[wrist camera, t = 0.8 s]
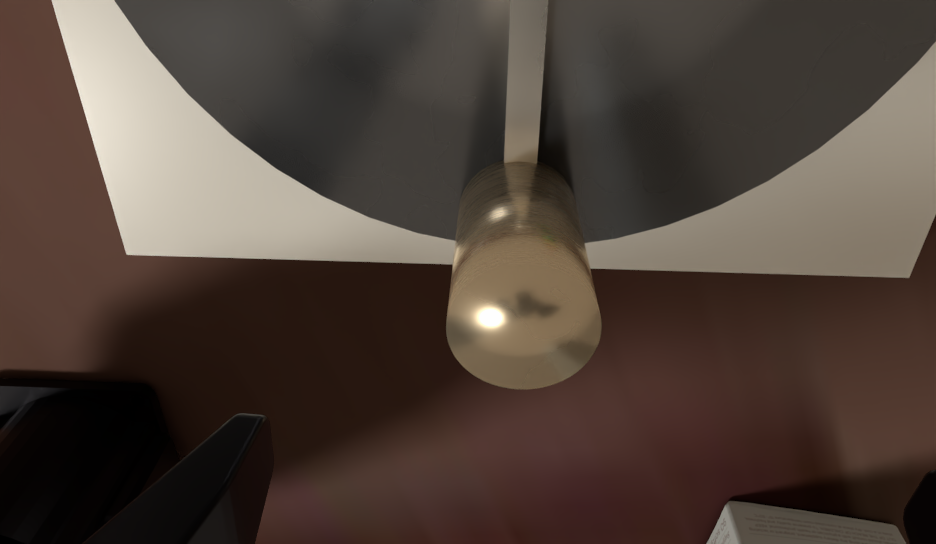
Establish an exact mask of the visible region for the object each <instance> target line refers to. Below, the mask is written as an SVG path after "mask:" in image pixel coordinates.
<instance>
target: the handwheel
mask: <svg viewBox="0 0 936 544" xmlns="http://www.w3.org/2000/svg"><path fill="white" fill-rule="evenodd" d="M114 1H115V2H116V4H117V5H118V7H119V8H120V9H121V11H122V12H123V14H124V15H125V17H126V18H127V19H128V21H129V22H130V24H131V25H132V26H133V28H134V29H135V31H136V32H137V34H138V35H139V36H140V38H141V39H142V41H143V42H144V44H145V45H146V46H147V48H148V49H149V50H150V51H151V52H152V53H153V55H154V56H155V57H156V58H157V59H158V60H159V61H160V63H161V64H162V65H163V66H164V67H165V68H166V70H167V71H168V72H169V73H170V74H171V75H172V76H173V78H174V79H175V80H176V81H177V82H178V83H179V85H180V86H181V87H182V88H183V89H184V90H185V92H186V93H187V94H188V95H189V96H190V97H191V98H192V99H194V100H195V101H196V102H197V103H198V104H199V105H200V106H201V107H202V108H203V109H204V110H205V111H206V112H207V113H208V114H210V115H211V116H212V117H213V118H214V119H215V120H216V121H217V122H218V123H219V124H220V125H221V126H222V127H223V128H224V129H225V130H227V131H228V132H229V133H230V134H231V135H232V136H233V137H235V138H236V139H237V140H239V141H240V142H241V143H243V144H244V145H245V146H247V147H248V148H249V149H251V150H252V151H253V152H255V153H256V154H257V155H259V156H260V157H261V158H263V159H264V160H265V161H267V162H268V163H269V164H270V165H272V166H273V167H274V168H276V169H277V170H279V171H281V172H282V173H284V174H286V175H288V176H289V177H291V178H293V179H294V180H296V181H298V182H299V183H301V184H303V185H304V186H306V187H308V188H309V189H311V190H313V191H314V192H316V193H318V194H319V195H321V196H323V197H325V198H327V199H330V200H332V201H334V202H336V203H338V204H341V205H343V206H345V207H347V208H349V209H352V210H354V211H356V212H358V213H360V214H363V215H365V216H367V217H369V218H372V219H375V220H378V221H381V222H385V223H388V224H391V225H394V226H397V227H400V228H403V229H406V230H409V231H412V232H415V233H419V234H424V235H429V236H434V237H439V238H444V239H449V240H454V241H455V248H454V257H453V266H452V275H451V284H450V293H449V302H448V312H447V321H446V334H447V340H448V343H449V346H450V348H451V351H452V353H453V354H454V356H455V358H456V359H457V360H458V361H459V363H460V364H461V365H462V366H463V367H464V368H465V369H466V370H467V371H469V372H470V373H471V374H473V375H474V376H476V377H477V378H479V379H481V380H483V381H485V382H488V383H490V384H493V385H496V386H499V387H504V388H509V389H535V388H541V387H546V386H550V385H553V384H556V383H558V382H560V381H563V380H565V379H567V378H568V377H570V376H572V375H573V374H575V373H576V372H577V371H579V370H580V369H581V368H582V367H583V366H584V365H585V364H586V363H587V362H588V361H589V359H590V358H591V357H592V355H593V354H594V352H595V350H596V348H597V346H598V343H599V340H600V336H601V327H602V324H601V315H600V311H599V306H598V302H597V297H596V293H595V288H594V283H593V279H592V274H591V270H590V265H589V261H588V256H587V251H586V247H585V243H589V242H596V241H603V240H610V239H617V238H620V237H624V236H628V235H632V234H636V233H640V232H644V231H648V230H652V229H656V228H659V227H663V226H667V225H670V224H672V223H675V222H678V221H680V220H683V219H686V218H688V217H691V216H694V215H696V214H699V213H702V212H704V211H707V210H710V209H712V208H715V207H717V206H719V205H721V204H723V203H725V202H727V201H729V200H731V199H733V198H735V197H737V196H739V195H741V194H743V193H745V192H747V191H749V190H751V189H753V188H755V187H757V186H759V185H761V184H763V183H765V182H767V181H769V180H771V179H772V178H774V177H775V176H777V175H778V174H780V173H782V172H783V171H785V170H786V169H788V168H789V167H791V166H793V165H794V164H796V163H797V162H799V161H800V160H802V159H804V158H805V157H807V156H808V155H810V154H811V153H813V152H815V151H816V150H818V149H819V148H820V147H822V146H823V145H824V144H825V143H827V142H828V141H829V140H831V139H832V138H833V137H834V136H836V135H837V134H838V133H839V132H841V131H842V130H843V129H845V128H846V127H847V126H848V125H850V124H851V123H852V122H853V121H855V120H856V119H857V118H858V117H860V116H861V115H862V114H864V113H865V112H866V111H867V110H869V109H870V108H871V107H872V106H873V105H874V104H875V103H876V102H877V101H878V100H879V99H880V98H881V97H882V96H883V95H884V94H885V93H886V92H887V91H888V90H889V89H891V88H892V87H893V86H894V85H895V84H896V83H897V82H898V81H899V80H900V79H901V78H902V77H903V76H904V75H905V74H906V73H907V72H908V71H909V70H910V69H911V68H912V67H913V66H915V65H916V64H917V63H918V61H919V60H920V59H921V58H922V57H923V56H924V55H925V53H926V52H927V51H928V50H929V49H930V48H931V46H932V45H933V44H934V43H935V42H936V0H114Z"/></svg>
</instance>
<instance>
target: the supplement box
mask: <svg viewBox="0 0 936 544" xmlns="http://www.w3.org/2000/svg"><path fill="white" fill-rule="evenodd" d="M707 544H906V542H905V541H904V539H903V537H902V535H901V534H900V532H899V530H898V528H897V527H896V526H895V525H892V524H887V523H881V522H874V521H868V520H862V519H855V518H848V517H841V516H835V515H829V514H822V513H815V512H810V511H804V510H796V509H789V508H782V507H776V506H768V505H761V504H755V503H748V502H738V501H728V502H727V504H726V505H725V507H724V509H723V511H722V513H721V516H720V518H719V520H718V522H717V524H716V526H715V528H714V530H713V532H712V534H711V536H710V538H709V540H708V542H707Z"/></svg>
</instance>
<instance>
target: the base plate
mask: <svg viewBox="0 0 936 544" xmlns="http://www.w3.org/2000/svg"><path fill="white" fill-rule="evenodd" d="M52 3H53V7H54V10H55V14H56V17H57V20H58V24H59V27H60V30H61V34H62V37H63V41H64V44H65V47H66V51H67V54H68V58H69V61H70V64H71V68H72V71H73V75H74V78H75V81H76V85H77V88H78V91H79V95H80V98H81V102H82V105H83V108H84V112H85V115H86V119H87V122H88V125H89V129H90V132H91V136H92V139H93V142H94V146H95V149H96V153H97V156H98V159H99V163H100V166H101V169H102V173H103V176H104V180H105V183H106V186H107V190H108V193H109V197H110V200H111V203H112V207H113V210H114V214H115V217H116V220H117V224H118V227H119V231H120V234H121V237H122V241H123V244H124V247H125V251H126V254H127V255H150V256H184V257H218V258H252V259H286V260H319V261H353V262H387V263H421V264H453V257H454V248H455V241H454V240H449V239H444V238H439V237H434V236H429V235H424V234H419V233H415V232H412V231H409V230H406V229H403V228H400V227H397V226H394V225H391V224H388V223H385V222H381V221H378V220H375V219H372V218H369V217H367V216H365V215H363V214H360V213H358V212H356V211H354V210H352V209H349V208H347V207H345V206H343V205H341V204H338V203H336V202H334V201H332V200H330V199H327V198H325V197H323V196H321V195H319V194H318V193H316V192H314V191H313V190H311V189H309V188H308V187H306V186H304V185H303V184H301V183H299V182H298V181H296V180H294V179H293V178H291V177H289V176H288V175H286V174H284V173H282V172H281V171H279V170H277V169H276V168H274V167H273V166H272V165H270V164H269V163H268V162H267V161H265V160H264V159H263V158H261V157H260V156H259V155H257V154H256V153H255V152H253V151H252V150H251V149H249V148H248V147H247V146H245V145H244V144H243V143H241V142H240V141H239V140H237V139H236V138H235V137H233V136H232V135H231V134H230V133H229V132H228V131H227V130H225V129H224V128H223V127H222V126H221V125H220V124H219V123H218V122H217V121H216V120H215V119H214V118H213V117H212V116H211V115H210V114H208V113H207V112H206V111H205V110H204V109H203V108H202V107H201V106H200V105H199V104H198V103H197V102H196V101H195V100H194V99H192V98H191V97H190V96H189V95H188V94H187V93H186V92H185V90H184V89H183V88H182V87H181V86H180V85H179V83H178V82H177V81H176V80H175V79H174V78H173V76H172V75H171V74H170V73H169V72H168V71H167V70H166V68H165V67H164V66H163V65H162V64H161V63H160V61H159V60H158V59H157V58H156V57H155V56H154V55H153V53H152V52H151V51H150V50H149V49H148V48H147V46H146V45H145V44H144V42H143V41H142V39H141V38H140V36H139V35H138V34H137V32H136V31H135V29H134V28H133V26H132V25H131V24H130V22H129V21H128V19H127V18H126V17H125V15H124V14H123V12H122V11H121V9H120V8H119V7H118V5H117V4H116V2H115V1H114V0H52ZM935 215H936V42H935V43H934V44H933V45H932V46H931V48H930V49H929V50H928V51H927V52H926V53H925V55H924V56H923V57H922V58H921V59H920V60H919V61H918V63H917V64H916V65H915V66H913V67H912V68H911V69H910V70H909V71H908V72H907V73H906V74H905V75H904V76H903V77H902V78H901V79H900V80H899V81H898V82H897V83H896V84H895V85H894V86H893V87H892V88H891V89H889V90H888V91H887V92H886V93H885V94H884V95H883V96H882V97H881V98H880V99H879V100H878V101H877V102H876V103H875V104H874V105H873V106H872V107H871V108H870V109H869V110H867V111H866V112H865V113H864V114H862V115H861V116H860V117H858V118H857V119H856V120H855V121H853V122H852V123H851V124H850V125H848V126H847V127H846V128H845V129H843V130H842V131H841V132H839V133H838V134H837V135H836V136H834V137H833V138H832V139H831V140H829V141H828V142H827V143H825V144H824V145H823V146H822V147H820V148H819V149H818V150H816V151H815V152H813V153H811V154H810V155H808V156H807V157H805V158H804V159H802V160H800V161H799V162H797V163H796V164H794V165H793V166H791V167H789V168H788V169H786V170H785V171H783V172H782V173H780V174H778V175H777V176H775V177H774V178H772V179H771V180H769V181H767V182H765V183H763V184H761V185H759V186H757V187H755V188H753V189H751V190H749V191H747V192H745V193H743V194H741V195H739V196H737V197H735V198H733V199H731V200H729V201H727V202H725V203H723V204H721V205H719V206H717V207H715V208H712V209H710V210H707V211H704V212H702V213H699V214H696V215H694V216H691V217H688V218H686V219H683V220H680V221H678V222H675V223H672V224H670V225H667V226H663V227H659V228H656V229H652V230H648V231H644V232H640V233H636V234H632V235H628V236H624V237H620V238H617V239H610V240H603V241H596V242H589V243H585V247H586V251H587V256H588V261H589V265H590V269H624V270H658V271H692V272H726V273H759V274H793V275H827V276H861V277H895V278H909V277H910V275H911V272H912V270H913V267H914V265H915V263H916V260H917V258H918V256H919V253H920V251H921V248H922V246H923V244H924V241H925V239H926V236H927V234H928V232H929V229H930V227H931V225H932V222H933V220H934V217H935Z"/></svg>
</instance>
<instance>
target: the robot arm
mask: <svg viewBox="0 0 936 544" xmlns="http://www.w3.org/2000/svg"><path fill="white" fill-rule="evenodd" d="M138 396H140V397H141V398H140V397H138ZM273 465H274V455H273V447H272V438H271V430H270V423H269V420H268V418H267V417H266V416H264V415H258V414H245V413H239V414H236V415H234V416H233V417H232V418H230V419H229V420H228V421H227V422H226V423H224V424H223V425H222V426H221V427H220V428H219V429H217V430H216V431H215V432H214V433H213V434H211V435H210V436H209V437H208V438H207V439H205V440H204V441H203V442H202V443H201V444H200V445H198V446H197V447H196V448H195V449H194V450H192V451H191V452H190V453H189V454H188V455H187V456H185V457H184V458H183V459H182V460H181V461H179V460H178V457H177V453H176V450H175V447H174V443H173V440H172V438H171V437H170V435H169V434H168V431H167V427H166V424H165V421H164V418H163V414H162V411H161V408H160V405H159V401H158V398H157V395H156V393H155V391H154V390H153V389H152V388H151V387H150V386H148V385H145V384H141V383H117V382H88V381H59V380H31V379H2V378H0V544H255V541H256V537H257V533H258V529H259V525H260V521H261V517H262V513H263V509H264V505H265V501H266V497H267V493H268V489H269V485H270V481H271V477H272V472H273ZM903 520H904V527H905V530H906V533H907V536H908V539H909V542H910V544H936V470H932V471H930V472H928V473H927V474H926V475H925V476H924V478H923V479H922V481H921V482H920V484H919V486H918V487H917V489H916V490H915V492H914V494H913V495H912V497H911V499H910V500H909V502H908V503H907V505H906V507H905V509H904V515H903Z"/></svg>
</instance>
